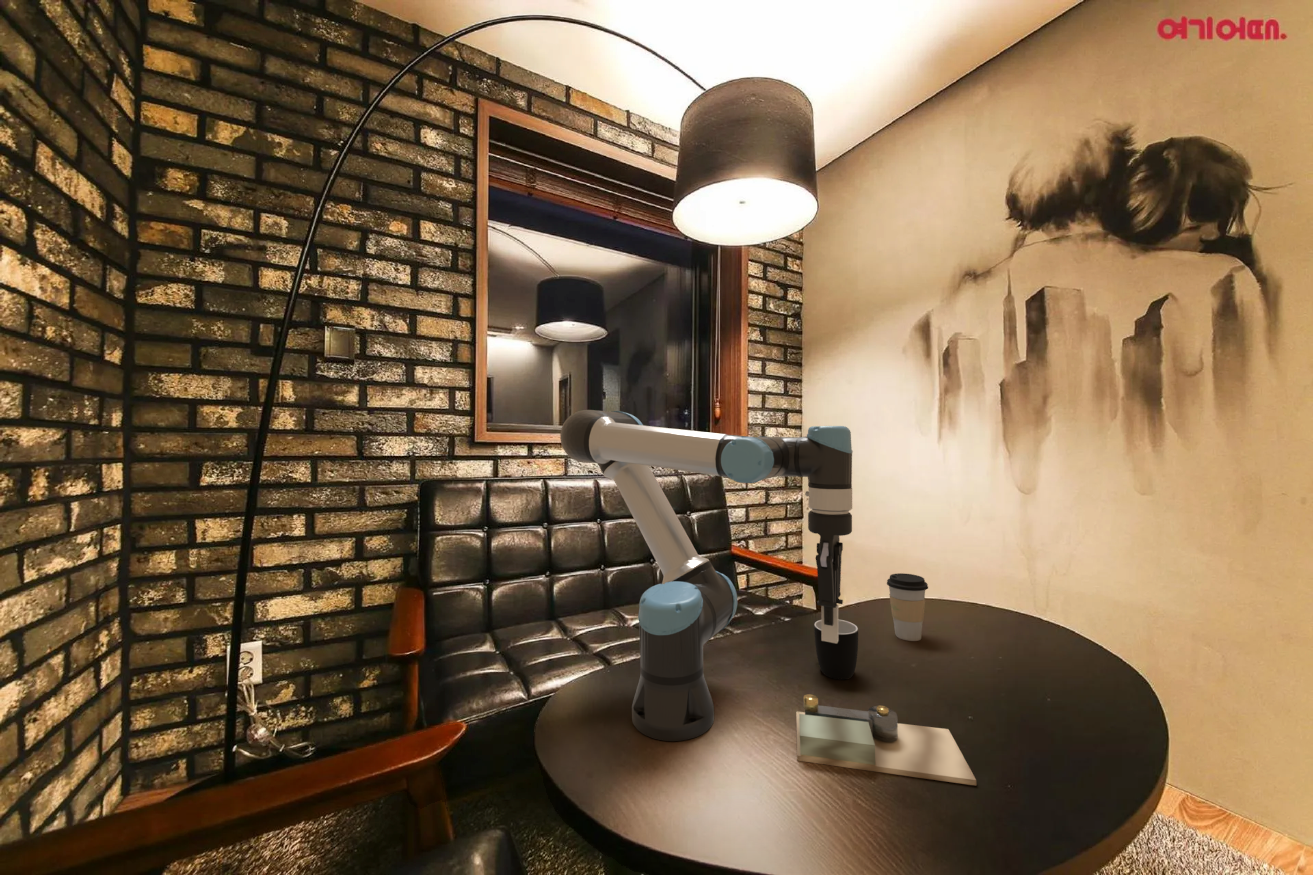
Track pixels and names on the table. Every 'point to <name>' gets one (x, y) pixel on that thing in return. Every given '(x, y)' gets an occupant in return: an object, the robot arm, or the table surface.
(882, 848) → the table surface
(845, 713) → the latch bar
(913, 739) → the board
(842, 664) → the mug
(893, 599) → the coffee cup
